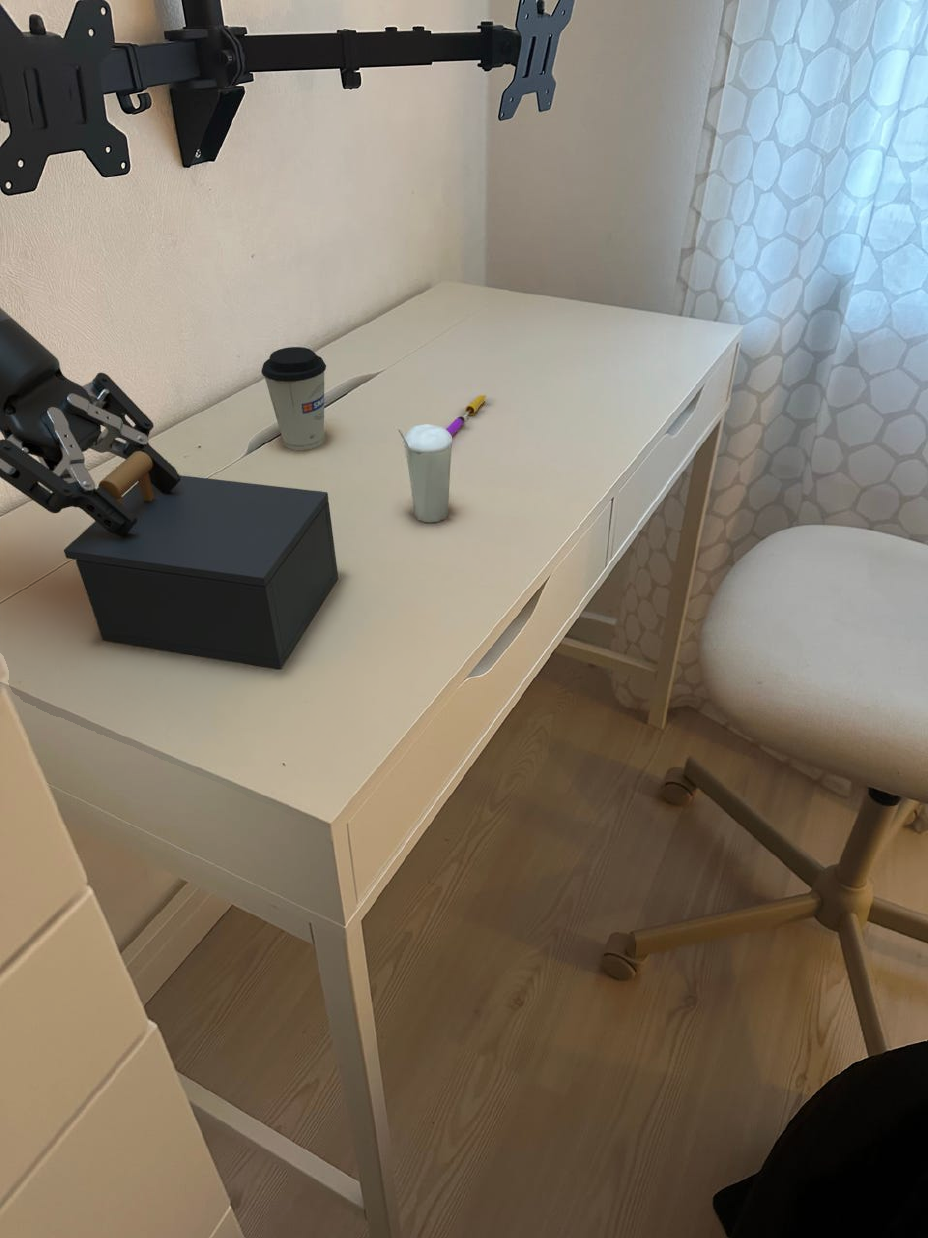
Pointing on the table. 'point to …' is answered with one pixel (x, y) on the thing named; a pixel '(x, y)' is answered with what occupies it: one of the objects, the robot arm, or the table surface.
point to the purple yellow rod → (470, 410)
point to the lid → (200, 526)
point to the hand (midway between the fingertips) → (152, 506)
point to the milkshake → (429, 470)
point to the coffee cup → (297, 395)
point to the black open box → (217, 604)
